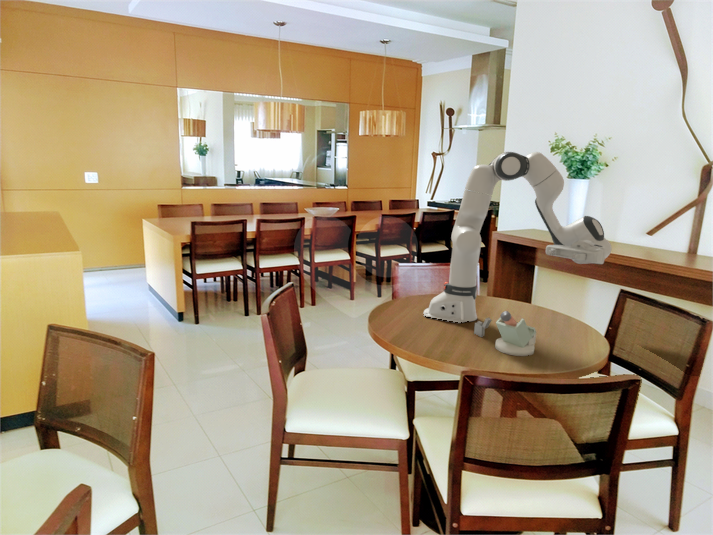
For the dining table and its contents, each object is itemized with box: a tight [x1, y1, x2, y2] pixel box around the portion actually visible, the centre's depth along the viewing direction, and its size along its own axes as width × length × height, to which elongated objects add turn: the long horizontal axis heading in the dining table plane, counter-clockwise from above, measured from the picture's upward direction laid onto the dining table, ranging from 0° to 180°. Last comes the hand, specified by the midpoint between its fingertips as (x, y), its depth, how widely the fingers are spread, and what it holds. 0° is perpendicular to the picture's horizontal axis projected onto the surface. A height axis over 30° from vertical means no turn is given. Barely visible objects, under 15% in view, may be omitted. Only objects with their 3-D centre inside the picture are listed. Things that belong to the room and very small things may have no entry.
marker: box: [499, 310, 517, 327], centre depth 165 cm, size 3×3×12 cm
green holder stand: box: [494, 317, 537, 357], centre depth 167 cm, size 13×13×12 cm
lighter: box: [473, 317, 493, 338], centre depth 180 cm, size 7×2×8 cm, turn 27°
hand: (562, 254), depth 174 cm, fingers open, 8 cm apart
